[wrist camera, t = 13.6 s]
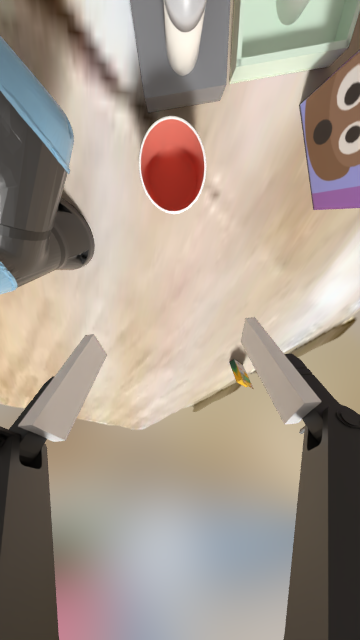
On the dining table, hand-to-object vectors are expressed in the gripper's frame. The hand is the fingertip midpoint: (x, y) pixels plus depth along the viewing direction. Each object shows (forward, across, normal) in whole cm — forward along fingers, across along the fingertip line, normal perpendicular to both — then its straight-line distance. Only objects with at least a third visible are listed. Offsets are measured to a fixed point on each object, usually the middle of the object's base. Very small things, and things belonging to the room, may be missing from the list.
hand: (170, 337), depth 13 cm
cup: (+31, +2, +14) cm, 34 cm away
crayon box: (+31, +23, -50) cm, 63 cm away
